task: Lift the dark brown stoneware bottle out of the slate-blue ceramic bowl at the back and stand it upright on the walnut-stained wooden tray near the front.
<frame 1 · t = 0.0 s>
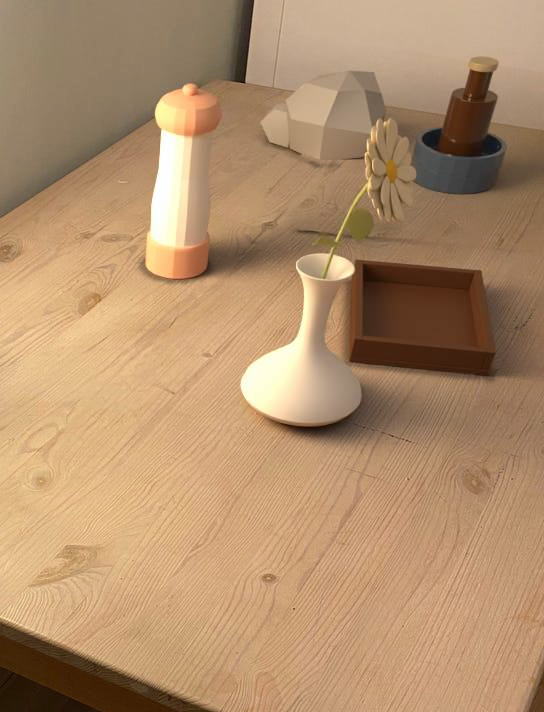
rock: (331, 141, 137), on the table
pepper shaker: (176, 266, 112), on the table
bowl: (450, 181, 127), on the table
flower in vase: (303, 403, 92), on the table
bottle: (451, 176, 126), point 1 cm above the table, touching bowl
tray: (414, 325, 101), on the table
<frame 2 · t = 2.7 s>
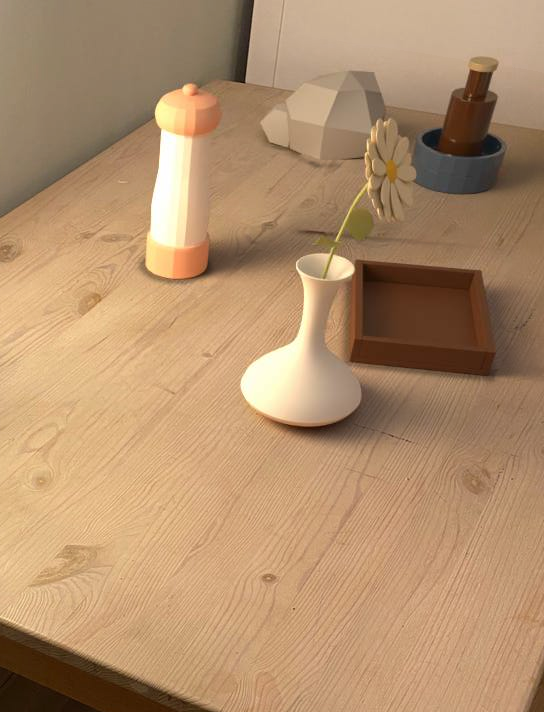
nothing on the table moved.
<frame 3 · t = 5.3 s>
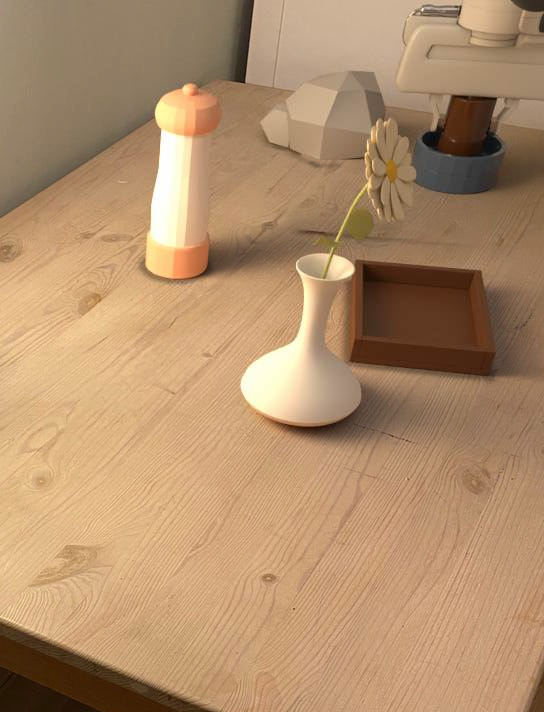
hand: (464, 132, 122), 6 cm above the table, tool pointing down, fingers closed on bottle, 5 cm apart
bottle: (451, 176, 126), point 1 cm above the table, touching bowl, gripper
everything else where it was.
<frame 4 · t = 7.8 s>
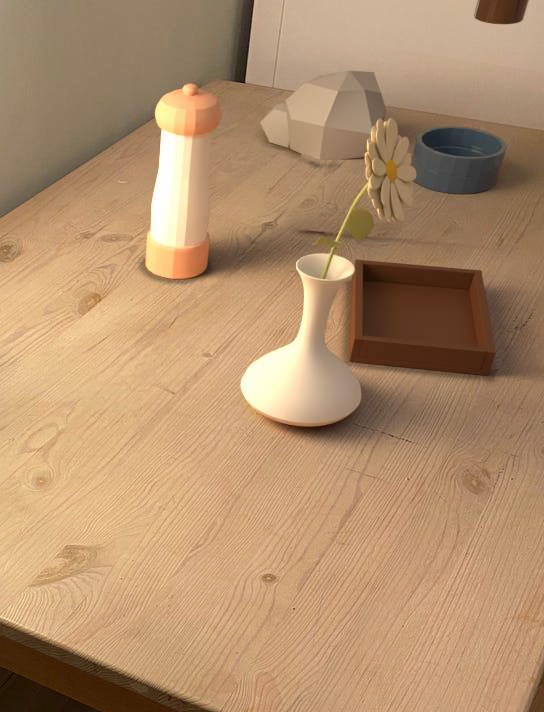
bottle: (498, 17, 112), point 19 cm above the table, touching gripper
everything else where it was.
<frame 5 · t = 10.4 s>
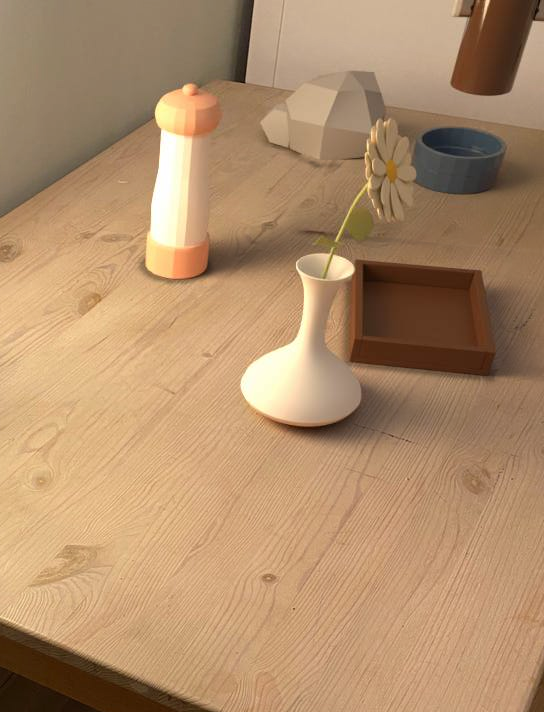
hand: (500, 17, 85), 27 cm above the table, tool pointing down, fingers closed on bottle, 5 cm apart
bottle: (480, 86, 89), point 22 cm above the table, touching gripper
everything else where it was.
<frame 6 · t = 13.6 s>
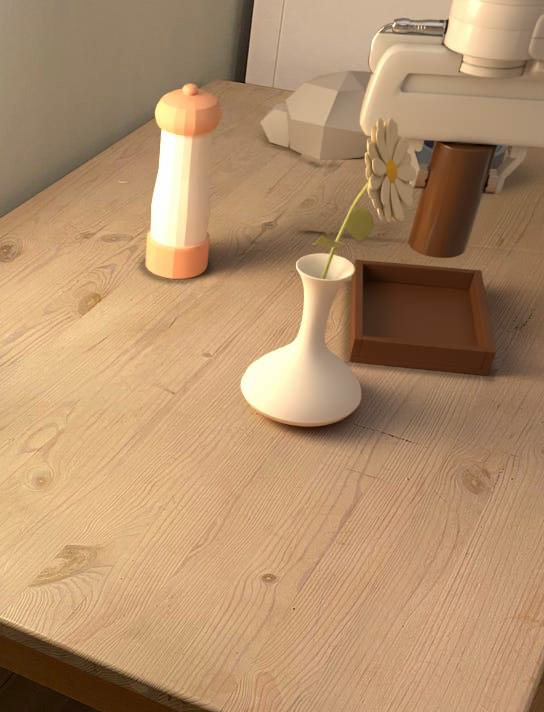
hand: (453, 189, 91), 14 cm above the table, tool pointing down, fingers closed on bottle, 5 cm apart
bottle: (436, 245, 95), point 9 cm above the table, touching gripper
everything else where it was.
when the fingers open (6 cm above the table, at t = 16.0 s): bottle stays where it is, resting on tray.
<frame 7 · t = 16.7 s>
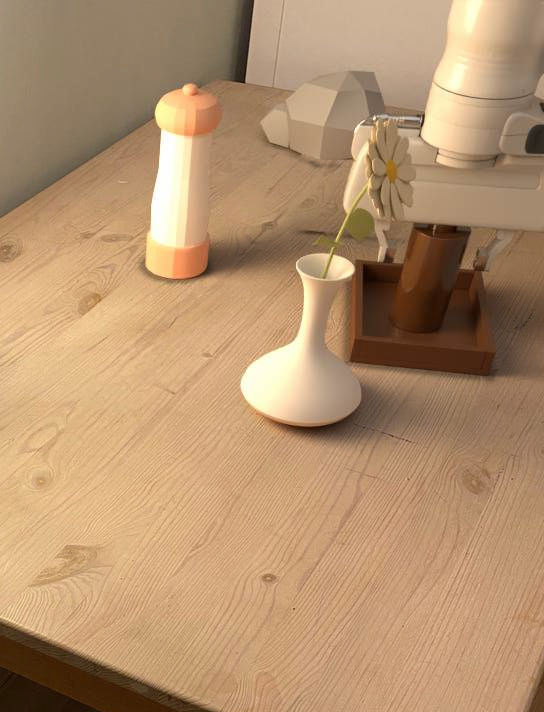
hand: (432, 264, 96), 7 cm above the table, tool pointing down, fingers open, 8 cm apart
bottle: (415, 320, 101), point 1 cm above the table, touching tray
everything else where it was.
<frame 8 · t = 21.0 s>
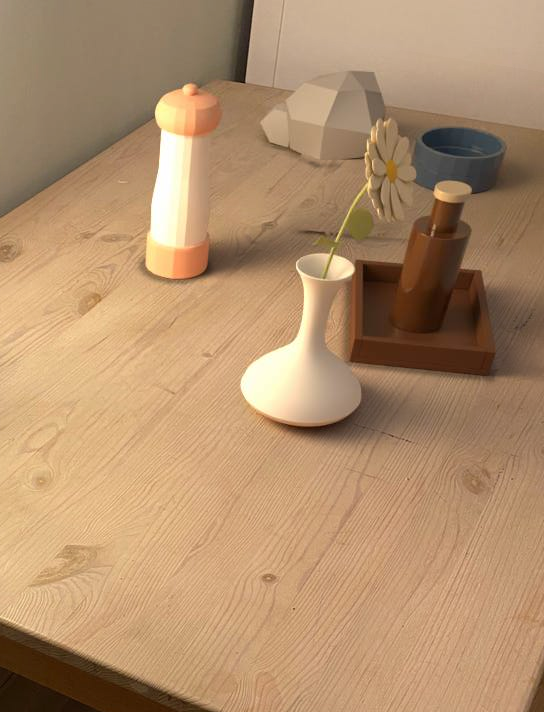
nothing on the table moved.
at the end: bottle inside the target area in the tray (0.0 cm from its centre), point 0.6 cm above the tray's base; bottle tilted 0°; the gripper is holding nothing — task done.
